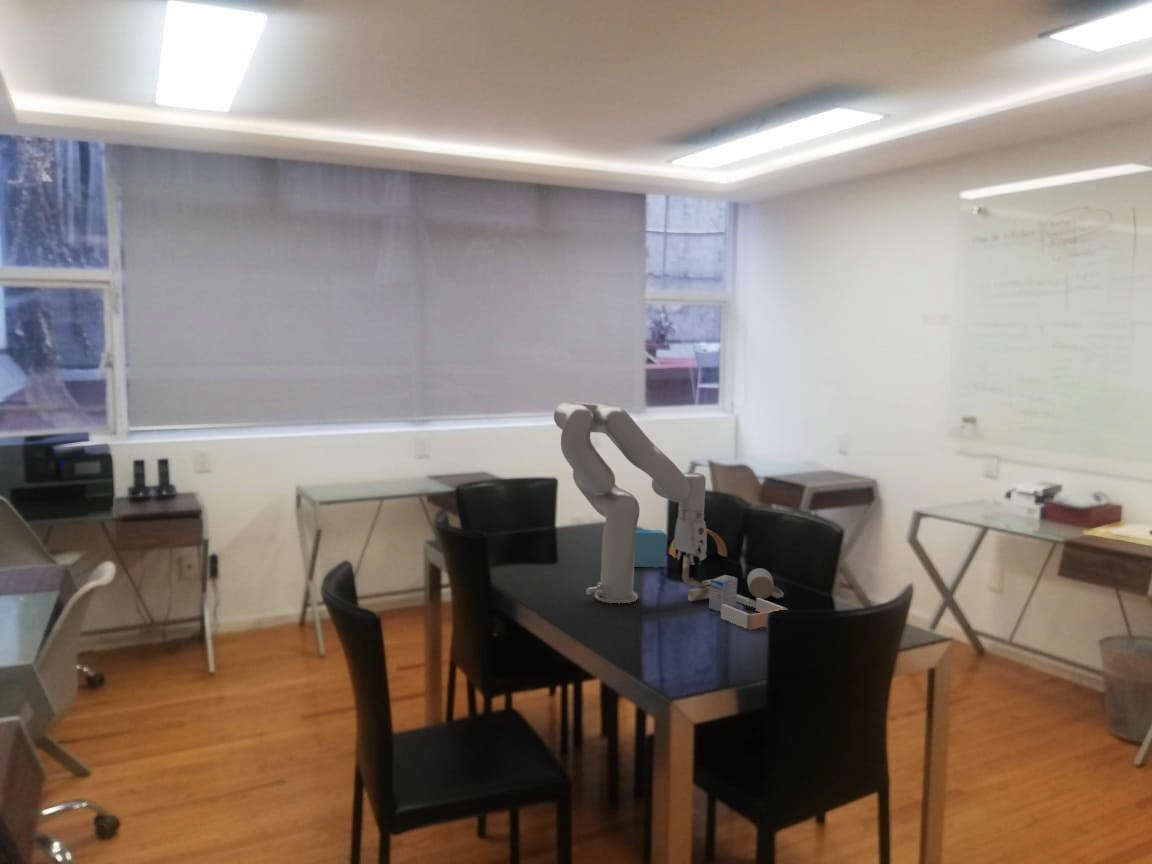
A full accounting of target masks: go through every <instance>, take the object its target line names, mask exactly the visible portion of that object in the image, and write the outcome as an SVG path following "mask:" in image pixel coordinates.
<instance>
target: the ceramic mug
mask: <svg viewBox="0 0 1152 864" xmlns="http://www.w3.org/2000/svg"><path fill="white" fill-rule="evenodd" d="M746 578H747V579H746V583H747V586H748V590H749V593H750V594H751V595H752V596H753V597H754V598H761V599H763V600H765V599H768V598H769V597H771V596H772V597H774V598H776V599H778V598H780V597H782V598H783V597H784V592H783V591H782V590H781V589H780V588H778V587H777V586H775V585H774V578H773V576H772V574H771V573H770V571H768V570H767V569H765V568H761V567H759V568H758V567H757V568H755V569H754V568H753V569H752V570H751V571H750V572H749V573H748V574H747V577H746Z"/></svg>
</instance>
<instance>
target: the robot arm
mask: <svg viewBox="0 0 1152 864" xmlns="http://www.w3.org/2000/svg"><path fill="white" fill-rule="evenodd" d="M553 420H554V423H555V424H556V426H557V427H558V428H559V429H560V430H561V435H560V449H561V452H562V454H563V456H564V459H565V460H566V462H567V463H568V465H569V466H570V467H571V469H572V479H573V481H574V483H575V485H576V487H577V488H578V490H579V491H580V493H582V495H583V496H584V497H585V498H586V500H587V501H588V502H589V503H590V504H591V506H592V508H593V509H594V510H595V511H596V512H597V513H598V514H600V516H602V517H604V518H605V523H604V527H603V531H602V537H601V538H602V539H601V566H600V568H601V569H600V581H597V582H596V583H597V584H596V585H595V586H592V587H591V586H589V587H586V589H585V593H586V595H594V598H595V599H596V600H597V601H600V602H602V603H606V604H612V603H618V604H617V605H624V604H623V603H628V604H631V603H630V602H633V603H635V602H637V601H638V600H639V594H638V593H637V592H635V591H634V579H635V578H634V576H635V568H634V561H635V538H636V530H637V528H638V527H637V526H638V521H639V517H640V505H639V504H640V503H639V502H638V500H637V498H636V497H635V495H634V494H632V493H631V492H629V491H628V490H627V491H626V490H625V489H622V488H620V487H618V485H617V484H616V475H615V473H614V471H613V470H612V468H611V467H610V466H609V465H608V464H607V462H606V461H605V459H604V458H603V457H602V456H601V454H600V453H599V452H598V451H597V450H596V449H597V448H596V447H595V446H594V445H593V442H592V439H591V433H600V434H601V433H602V434H605V436H607V438H609V439H610V441H611V442H612V443H613V444H614V445H615V446H616V447H617V449H618V450H619V451H620V452H621V453H622V455H623V456H624V457H625V458H626V459H627V460H628V462H629V463H631V464H632V465H633V466H634V467H636V468H638V469H639V470H641V471H643V472H644V473H645V474H646V475H648V476H649V477H650V478H651V479H652V480H651V488H652V490H653V491H654V493H655V494H657V495H658V496H660V497H662V498H664V499H667V500H669V501H671V502H673V503H678V512H677V513H678V514H677V515H678V516H677V518H676V523H675V530H674V538H673V540H674V544H673V546H672V547H673V549H674V550H675V552H676V555H677V559H676V560H677V561H678V562H677V574H678V575H679V574H681V575H682V574H683V555H690V559H691V564H689V578H693V579H694V578H698V577H699V569H700V565H701V563H702V561H704V560H705V559H706V558H707V548H708V544H707V543H708V542H707V541H708V537H707V535H708V533H706V529H707V525H706V521H705V520H704V519H705V501H706V500H705V499H706V486H707V485H706V484H707V482H706V481H707V479H706V476H705V475H704V474H703V473H698V472H684V473H683V472H682V471H681V470H680V469H679V467H677V465H676V464H675V463H674V462H673V461H672V460H671V459H670V458H669V457H668V456H667V455H666V454H665V453H664V452H663V451H661V449H660V448H659V447H657V445H655V444H654V443H653V441H652V440H650V438H649V437H648V436H647V435H646V434H645V432H644V431H643V430H642V428H641V427H639V425H638V424H637V423H636V422H635V420H634V419H633V418H632V417H631V415H630V414H629V413H628V412H627V411H626V410H625V409H624V408H621V407H619V406H617V405H611V404H602V403H591V402H581V401H580V402H578V401H577V402H576V401H565V402H562V403H560V404H559V405H557V406H556V408H555V410H554V413H553ZM637 599H638V600H637ZM636 600H637V601H636ZM634 601H635V602H634ZM620 603H622V604H620Z"/></svg>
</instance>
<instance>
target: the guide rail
mask: <svg viewBox="0 0 1152 864" xmlns="http://www.w3.org/2000/svg"><path fill="white" fill-rule="evenodd" d="M738 602H739V604H741V603H742V604H741V605H743V604H744V606H746V605H747V606H746V607H749V606H750V607H749V608H751V607H753V608H752V609H754V608H756V600H753V599H751V598H748V597H745V596H743V595H741V594H738V593H737V595H736V603H738Z"/></svg>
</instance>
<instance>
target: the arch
mask: <svg viewBox="0 0 1152 864" xmlns="http://www.w3.org/2000/svg"><path fill="white" fill-rule="evenodd" d="M706 533H707V534H708V535H710V536H711V537H712V538H713V539H714V541H715V544H716V547H717V554H718V555H720V556H722V557H726V558H727V557H728V549H727V547H726V543H725V541H724V540H723V539H722V537H721V536H720V535H718V533H716V532H713V531H712V530H710V529H708V528H706ZM673 544H674V539H673V540H672V542H671V543H670V546H669V549H668V555H669V554H670V555H672V556H673V557H674V558H673V557H672V558H673V559H675V558H677V555H676V552H675V550H674V549H673V547H672V546H673ZM670 555H669V556H670Z"/></svg>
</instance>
